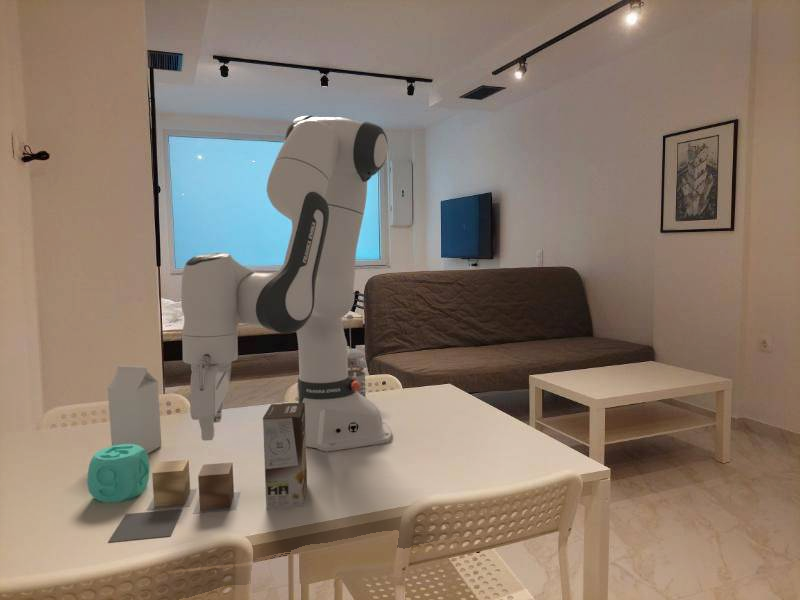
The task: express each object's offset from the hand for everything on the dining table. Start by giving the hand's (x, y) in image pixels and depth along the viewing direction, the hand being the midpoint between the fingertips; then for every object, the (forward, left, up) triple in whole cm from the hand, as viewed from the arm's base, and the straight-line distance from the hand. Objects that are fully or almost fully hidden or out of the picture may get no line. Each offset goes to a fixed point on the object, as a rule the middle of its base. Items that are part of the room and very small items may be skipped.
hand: (212, 429), depth 97 cm
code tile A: (0, 0, -13) cm, 13 cm away
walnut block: (0, 0, -13) cm, 13 cm away
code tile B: (+8, -3, -13) cm, 16 cm away
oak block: (+8, -3, -13) cm, 16 cm away
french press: (-29, -59, -14) cm, 68 cm away
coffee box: (-12, 0, -14) cm, 18 cm away
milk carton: (+21, -30, -14) cm, 39 cm away
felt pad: (+10, +6, -13) cm, 18 cm away
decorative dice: (+18, -8, -14) cm, 24 cm away
